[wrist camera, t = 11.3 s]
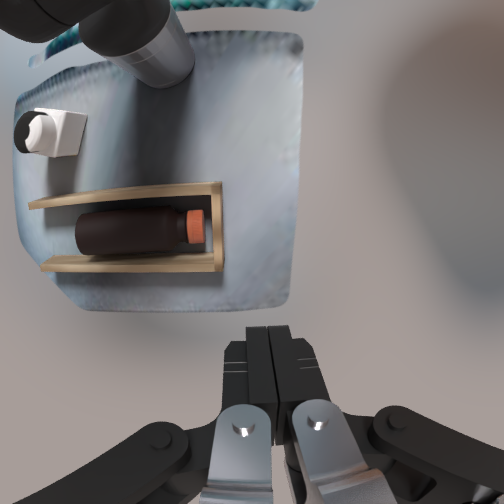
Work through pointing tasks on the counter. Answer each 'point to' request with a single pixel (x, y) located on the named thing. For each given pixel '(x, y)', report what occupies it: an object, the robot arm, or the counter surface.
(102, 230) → the vinegar
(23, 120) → the medicine bottle
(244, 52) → the counter surface
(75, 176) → the counter surface
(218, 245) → the u rest
